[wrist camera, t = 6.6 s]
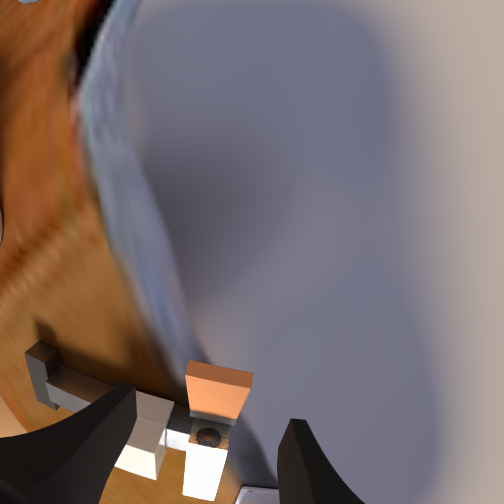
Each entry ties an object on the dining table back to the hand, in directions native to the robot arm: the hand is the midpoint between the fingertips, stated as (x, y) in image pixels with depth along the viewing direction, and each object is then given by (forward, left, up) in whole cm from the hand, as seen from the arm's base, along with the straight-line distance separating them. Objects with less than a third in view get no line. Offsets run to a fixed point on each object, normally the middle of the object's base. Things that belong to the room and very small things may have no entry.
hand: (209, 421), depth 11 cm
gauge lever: (0, +2, -5) cm, 5 cm away
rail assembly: (+8, +10, -9) cm, 16 cm away
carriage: (+5, +10, -9) cm, 15 cm away
